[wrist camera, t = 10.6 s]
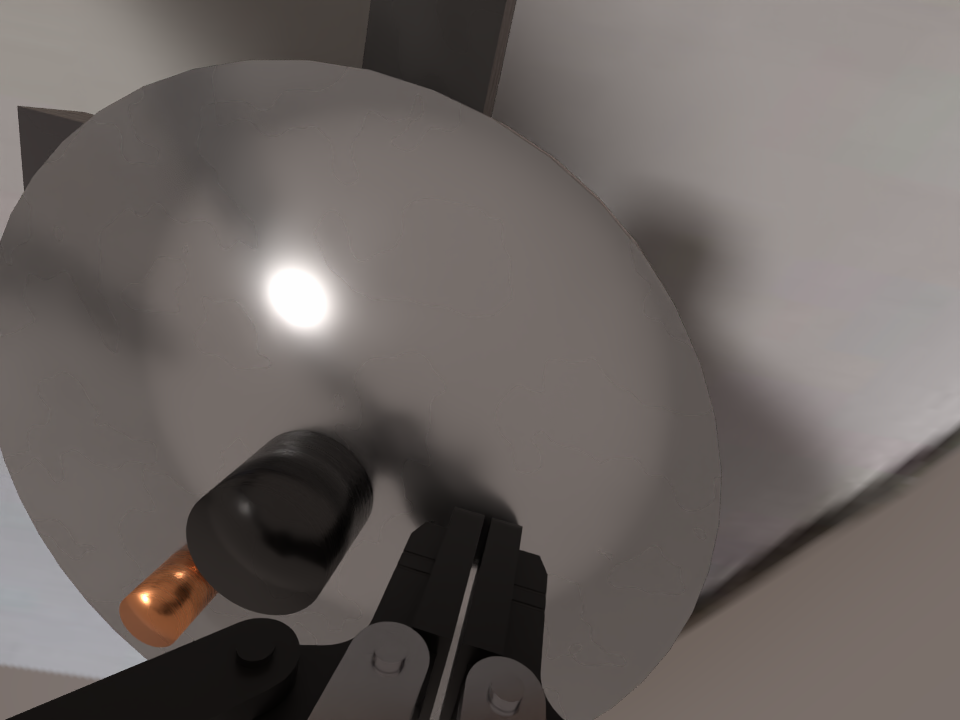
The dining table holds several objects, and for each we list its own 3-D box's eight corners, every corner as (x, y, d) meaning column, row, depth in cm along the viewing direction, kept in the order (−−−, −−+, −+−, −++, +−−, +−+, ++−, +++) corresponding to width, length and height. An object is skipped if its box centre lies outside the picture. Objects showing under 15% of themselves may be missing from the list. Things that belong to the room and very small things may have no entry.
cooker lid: (11, -12, 12) (-238, -86, 8) (857, 192, 10) (1000, 206, 7) (59, 600, 19) (-70, 705, 15) (576, 793, 17) (571, 964, 13)
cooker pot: (267, -31, 22) (-32, -219, 11) (717, 75, 21) (888, -14, 10) (232, 481, 31) (49, 661, 20) (545, 571, 30) (534, 811, 19)
